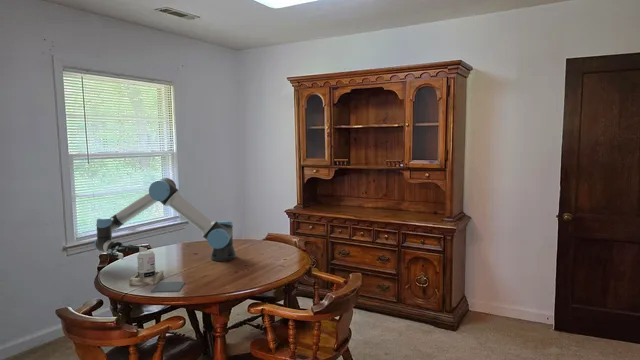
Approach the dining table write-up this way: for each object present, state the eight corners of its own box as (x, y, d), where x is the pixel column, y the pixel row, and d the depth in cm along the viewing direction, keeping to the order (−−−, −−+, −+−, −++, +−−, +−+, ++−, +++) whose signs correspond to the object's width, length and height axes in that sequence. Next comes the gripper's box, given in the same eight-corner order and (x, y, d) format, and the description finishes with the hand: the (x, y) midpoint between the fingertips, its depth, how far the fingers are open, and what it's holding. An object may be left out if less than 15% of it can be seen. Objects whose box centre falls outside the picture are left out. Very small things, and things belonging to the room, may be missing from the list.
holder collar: (163, 276, 225) (163, 270, 225) (156, 284, 212) (155, 278, 212) (138, 276, 224) (138, 271, 224) (129, 285, 211) (129, 279, 211)
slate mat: (185, 282, 215) (185, 281, 215) (178, 291, 202) (178, 290, 202) (159, 283, 214) (159, 282, 214) (151, 292, 201) (150, 291, 201)
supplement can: (141, 278, 222) (140, 250, 221) (157, 277, 223) (156, 250, 221) (136, 283, 214) (134, 254, 212) (152, 283, 215) (151, 254, 213)
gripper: (134, 249, 246) (156, 255, 233) (91, 259, 225) (111, 266, 213) (134, 237, 245) (155, 242, 233) (90, 245, 225) (111, 251, 212)
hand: (134, 254), depth 223 cm, fingers open, 13 cm apart
